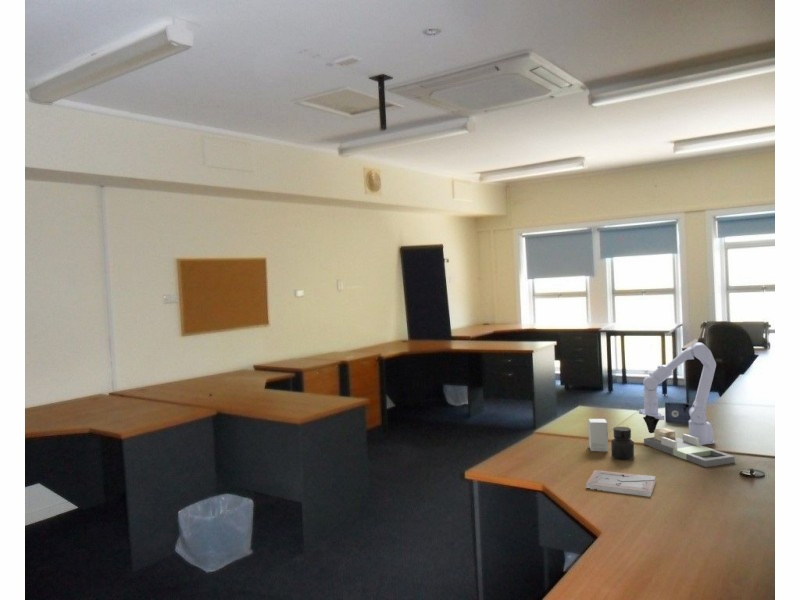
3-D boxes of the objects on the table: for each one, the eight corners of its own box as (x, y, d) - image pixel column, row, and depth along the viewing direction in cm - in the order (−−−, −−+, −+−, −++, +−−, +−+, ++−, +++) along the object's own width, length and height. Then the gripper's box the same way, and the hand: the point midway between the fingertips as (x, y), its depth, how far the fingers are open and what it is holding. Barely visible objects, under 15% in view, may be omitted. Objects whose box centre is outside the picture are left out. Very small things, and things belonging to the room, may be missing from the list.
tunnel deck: (670, 440, 271) (669, 428, 271) (734, 462, 237) (734, 448, 237) (644, 444, 268) (643, 431, 267) (705, 467, 233) (705, 453, 233)
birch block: (665, 437, 268) (665, 428, 268) (675, 440, 263) (675, 431, 262) (654, 438, 267) (654, 429, 266) (664, 441, 261) (663, 432, 261)
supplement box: (608, 451, 259) (607, 422, 258) (590, 451, 260) (589, 422, 260) (606, 446, 266) (605, 418, 266) (588, 446, 268) (587, 418, 267)
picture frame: (655, 482, 220) (595, 475, 231) (655, 476, 220) (594, 469, 231) (650, 498, 206) (585, 489, 216) (650, 491, 206) (585, 483, 216)
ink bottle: (634, 454, 253) (634, 426, 252) (635, 461, 245) (635, 431, 244) (610, 453, 256) (609, 425, 256) (610, 459, 248) (609, 430, 247)
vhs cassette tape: (706, 424, 297) (705, 404, 296) (705, 425, 294) (705, 405, 294) (666, 420, 307) (665, 401, 306) (665, 422, 304) (664, 402, 304)
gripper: (632, 400, 278) (633, 429, 278) (654, 406, 264) (655, 437, 265) (645, 399, 280) (646, 428, 280) (667, 405, 266) (668, 435, 267)
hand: (651, 432), depth 273 cm, fingers closed
